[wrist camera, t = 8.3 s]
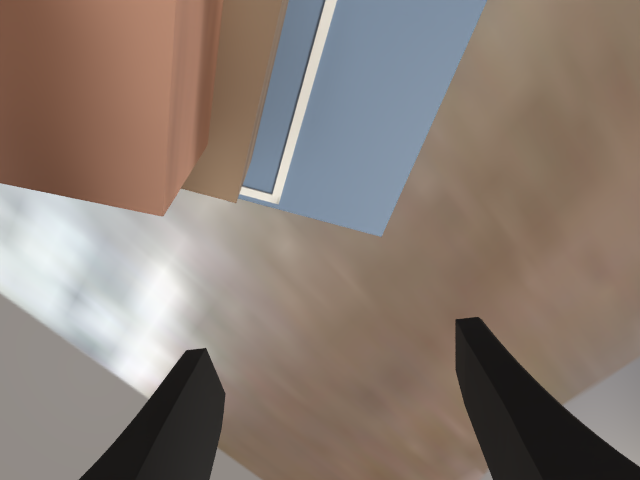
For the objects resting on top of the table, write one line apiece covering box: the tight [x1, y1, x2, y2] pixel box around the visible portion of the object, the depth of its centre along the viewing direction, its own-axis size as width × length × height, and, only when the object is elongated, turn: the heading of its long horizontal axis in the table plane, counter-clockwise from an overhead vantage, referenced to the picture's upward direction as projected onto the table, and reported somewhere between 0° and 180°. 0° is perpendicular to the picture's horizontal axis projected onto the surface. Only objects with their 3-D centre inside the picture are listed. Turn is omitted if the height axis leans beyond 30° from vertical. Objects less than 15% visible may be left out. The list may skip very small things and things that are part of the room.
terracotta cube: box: [0, 0, 224, 216], centre depth 12 cm, size 5×5×5 cm
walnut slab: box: [181, 0, 289, 203], centre depth 15 cm, size 8×8×4 cm
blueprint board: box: [238, 0, 487, 237], centre depth 17 cm, size 18×16×1 cm
